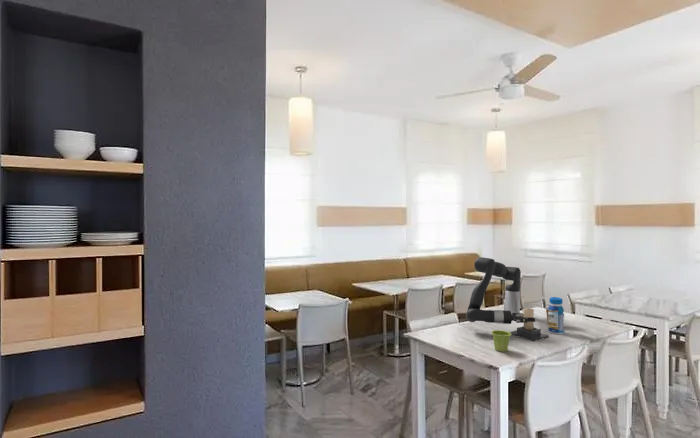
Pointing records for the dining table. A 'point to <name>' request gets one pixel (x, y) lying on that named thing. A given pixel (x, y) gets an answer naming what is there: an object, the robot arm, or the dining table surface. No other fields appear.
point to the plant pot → (501, 340)
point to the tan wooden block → (530, 313)
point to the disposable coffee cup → (547, 310)
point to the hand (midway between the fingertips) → (533, 318)
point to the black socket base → (529, 334)
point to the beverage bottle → (556, 316)
